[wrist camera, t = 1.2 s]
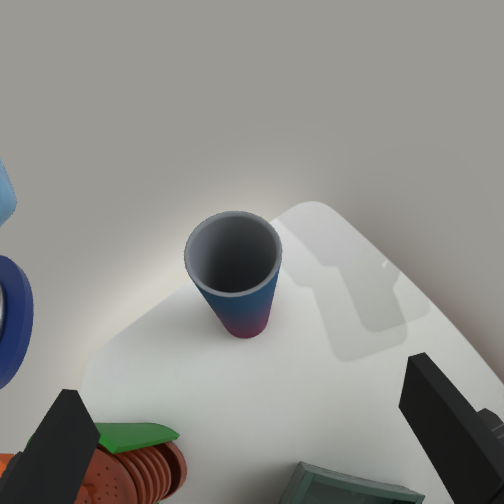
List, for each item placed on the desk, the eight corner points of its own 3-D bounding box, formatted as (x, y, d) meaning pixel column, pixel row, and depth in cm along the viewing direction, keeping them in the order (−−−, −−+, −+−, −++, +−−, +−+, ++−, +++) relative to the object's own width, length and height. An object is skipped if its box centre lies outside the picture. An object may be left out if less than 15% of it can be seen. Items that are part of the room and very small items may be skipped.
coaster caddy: (187, 510, 24) (103, 591, 6) (111, 495, 24) (-12, 531, 7) (187, 427, 29) (91, 435, 11) (112, 416, 29) (-20, 395, 12)
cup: (227, 355, 33) (199, 311, 20) (207, 300, 36) (174, 228, 23) (285, 332, 34) (298, 275, 21) (262, 280, 37) (260, 199, 24)
